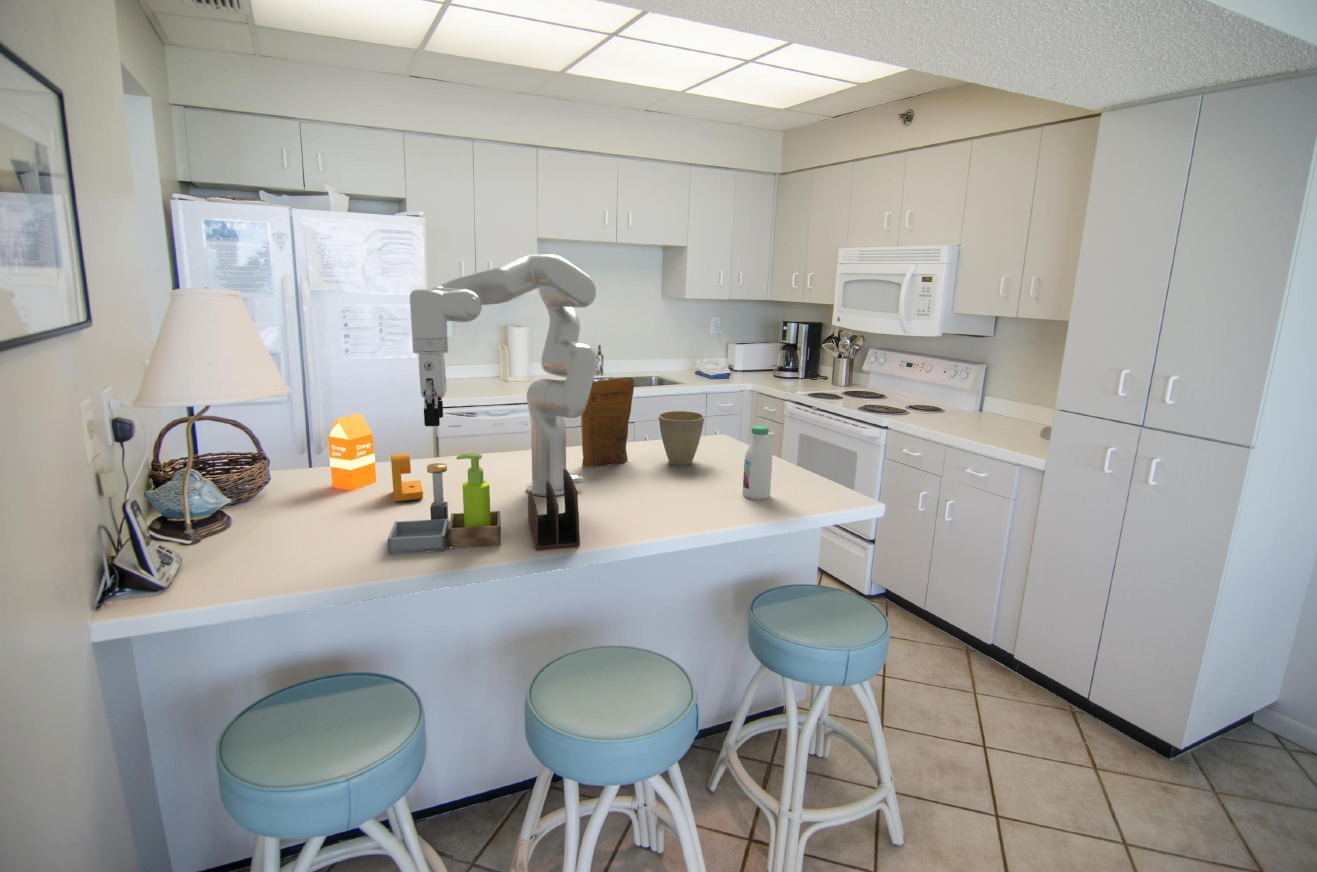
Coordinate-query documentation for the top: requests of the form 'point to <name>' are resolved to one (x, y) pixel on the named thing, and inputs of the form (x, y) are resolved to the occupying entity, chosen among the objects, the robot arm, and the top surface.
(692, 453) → the plant pot
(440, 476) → the plunger
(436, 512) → the plunger collar
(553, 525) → the letter holder
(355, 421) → the orange juice
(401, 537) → the tray
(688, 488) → the top surface
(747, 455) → the milk bottle
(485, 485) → the soap dispenser
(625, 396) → the pancake mix bag
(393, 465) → the bracket
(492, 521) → the wooden box
